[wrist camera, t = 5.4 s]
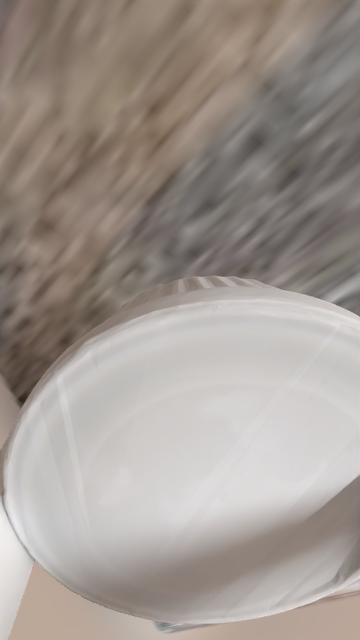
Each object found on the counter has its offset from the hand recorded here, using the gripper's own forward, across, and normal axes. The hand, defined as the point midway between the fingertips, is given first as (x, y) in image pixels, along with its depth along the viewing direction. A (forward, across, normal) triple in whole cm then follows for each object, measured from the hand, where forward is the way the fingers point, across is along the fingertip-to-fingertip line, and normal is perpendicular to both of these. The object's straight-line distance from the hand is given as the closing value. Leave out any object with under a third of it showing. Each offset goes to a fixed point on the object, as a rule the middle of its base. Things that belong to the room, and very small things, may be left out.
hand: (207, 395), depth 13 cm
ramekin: (+1, 0, 0) cm, 1 cm away
